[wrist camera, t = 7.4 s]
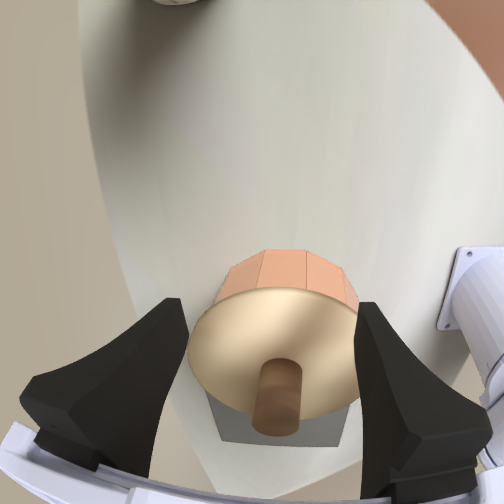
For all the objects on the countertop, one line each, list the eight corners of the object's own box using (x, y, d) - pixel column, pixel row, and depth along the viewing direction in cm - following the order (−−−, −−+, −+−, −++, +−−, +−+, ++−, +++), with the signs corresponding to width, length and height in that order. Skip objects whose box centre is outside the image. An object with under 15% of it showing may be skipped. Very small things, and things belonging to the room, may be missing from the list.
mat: (356, 371, 28) (356, 376, 28) (337, 442, 35) (337, 446, 35) (201, 366, 31) (199, 370, 30) (222, 437, 38) (221, 440, 37)
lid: (407, 308, 18) (428, 373, 13) (339, 421, 24) (339, 473, 20) (194, 265, 19) (162, 325, 14) (189, 393, 25) (171, 444, 21)
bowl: (363, 250, 22) (375, 292, 18) (348, 358, 27) (351, 402, 23) (209, 250, 24) (189, 289, 20) (228, 354, 29) (216, 397, 25)
